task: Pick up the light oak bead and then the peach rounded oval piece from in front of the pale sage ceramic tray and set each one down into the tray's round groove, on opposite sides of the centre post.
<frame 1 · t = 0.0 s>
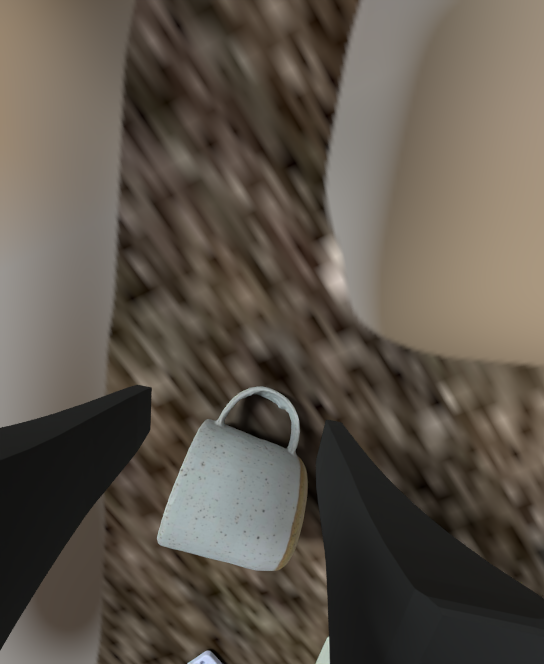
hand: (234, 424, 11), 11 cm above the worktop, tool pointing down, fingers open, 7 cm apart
ceramic mug: (248, 443, 23), on the worktop
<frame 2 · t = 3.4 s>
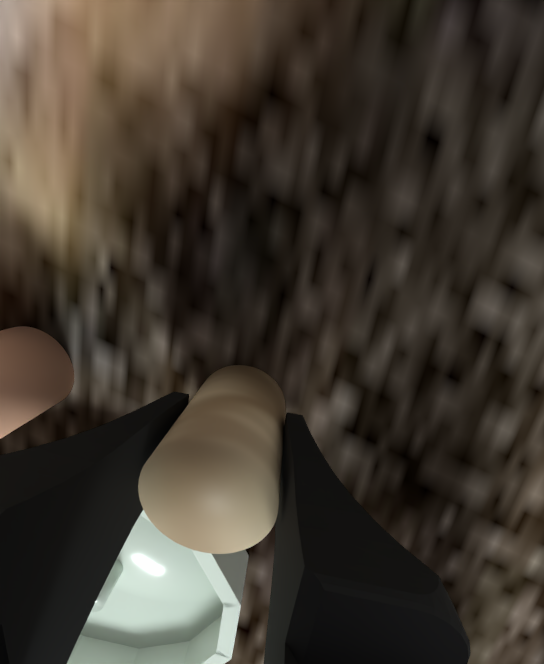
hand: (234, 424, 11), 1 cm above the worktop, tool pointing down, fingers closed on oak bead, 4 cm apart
groove tray: (116, 554, 16), on the worktop
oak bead: (241, 405, 12), on the worktop, touching gripper
peach rounded oval piece: (33, 367, 13), on the worktop
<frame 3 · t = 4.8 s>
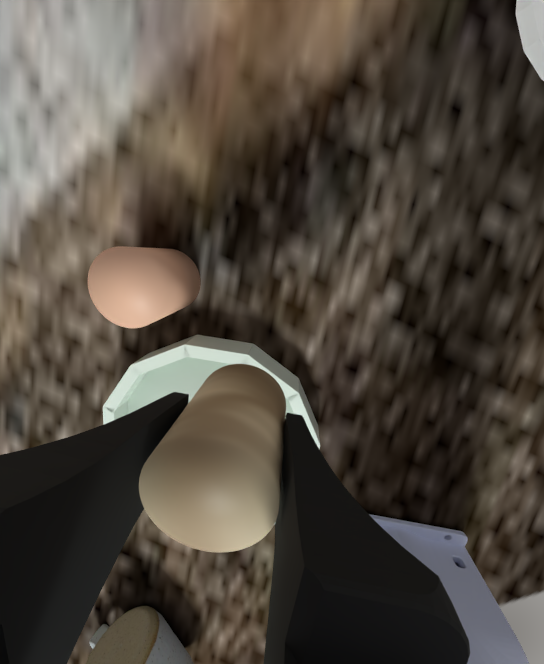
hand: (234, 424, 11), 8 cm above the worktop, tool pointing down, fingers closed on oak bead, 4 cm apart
groove tray: (216, 430, 21), on the worktop
ceramic mug: (149, 627, 29), on the worktop
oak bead: (242, 404, 12), point 7 cm above the worktop, touching gripper
peach rounded oval piece: (171, 279, 18), on the worktop
when the fingers open (3 cm above the worktop, at t = 6.4 s): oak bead drops 1 cm, resting on groove tray.
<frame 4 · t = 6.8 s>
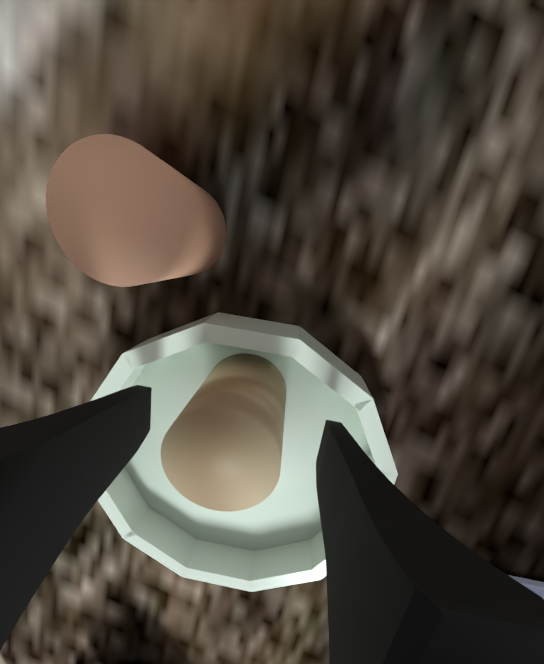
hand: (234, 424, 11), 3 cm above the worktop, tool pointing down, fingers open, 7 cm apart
groove tray: (240, 447, 15), on the worktop
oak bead: (246, 390, 14), point 1 cm above the worktop, touching groove tray
peach rounded oval piece: (183, 230, 13), on the worktop
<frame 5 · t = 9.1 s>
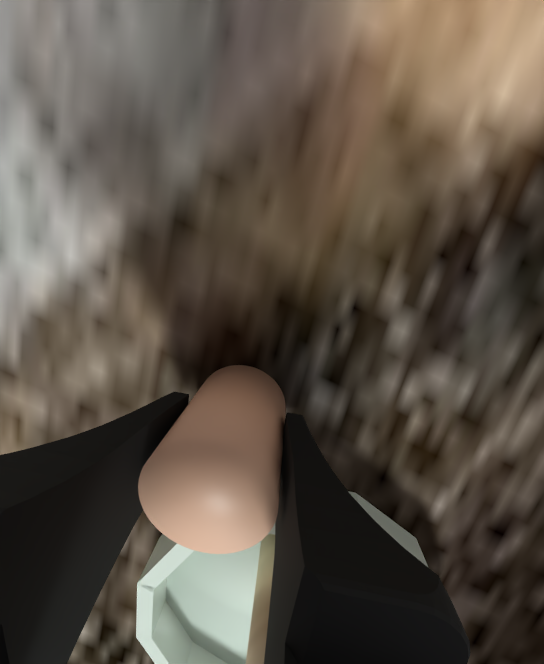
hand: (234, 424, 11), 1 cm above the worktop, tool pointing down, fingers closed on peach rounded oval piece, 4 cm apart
groove tray: (288, 590, 15), on the worktop
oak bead: (300, 551, 14), point 1 cm above the worktop, touching groove tray
peach rounded oval piece: (241, 405, 12), on the worktop, touching gripper
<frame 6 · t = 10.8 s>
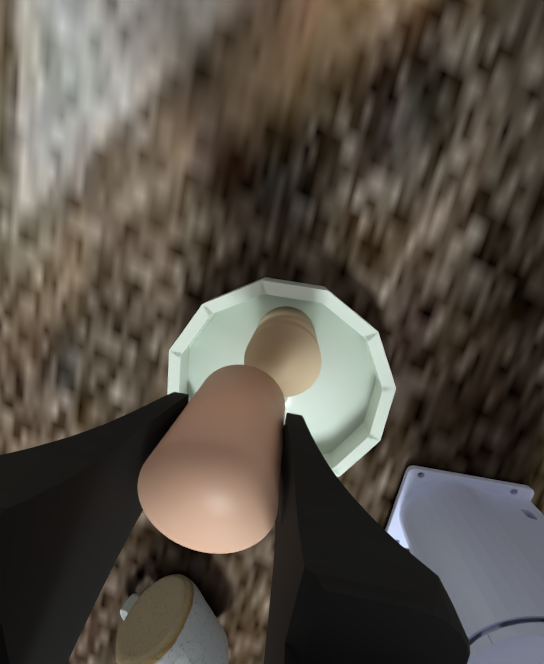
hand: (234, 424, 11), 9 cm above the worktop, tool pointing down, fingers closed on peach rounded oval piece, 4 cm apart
groove tray: (278, 381, 21), on the worktop
ceramic mug: (179, 597, 29), on the worktop
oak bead: (285, 334, 19), point 1 cm above the worktop, touching groove tray
peach rounded oval piece: (241, 405, 12), point 8 cm above the worktop, touching gripper
when the fingers open (3 cm above the worktop, at t = 12.8 s): peach rounded oval piece drops 1 cm, resting on groove tray.
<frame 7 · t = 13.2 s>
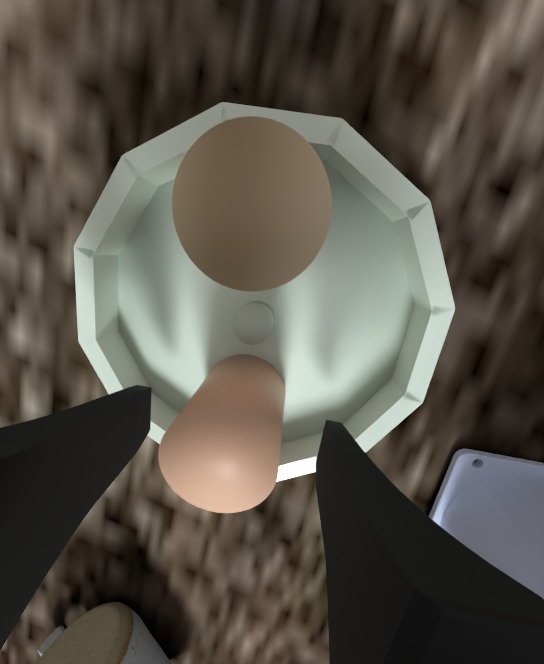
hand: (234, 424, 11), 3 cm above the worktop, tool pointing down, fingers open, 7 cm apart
groove tray: (259, 315, 13), on the worktop
ceramic mug: (123, 631, 21), on the worktop
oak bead: (269, 229, 12), point 1 cm above the worktop, touching groove tray
peach rounded oval piece: (245, 391, 14), point 1 cm above the worktop, touching groove tray
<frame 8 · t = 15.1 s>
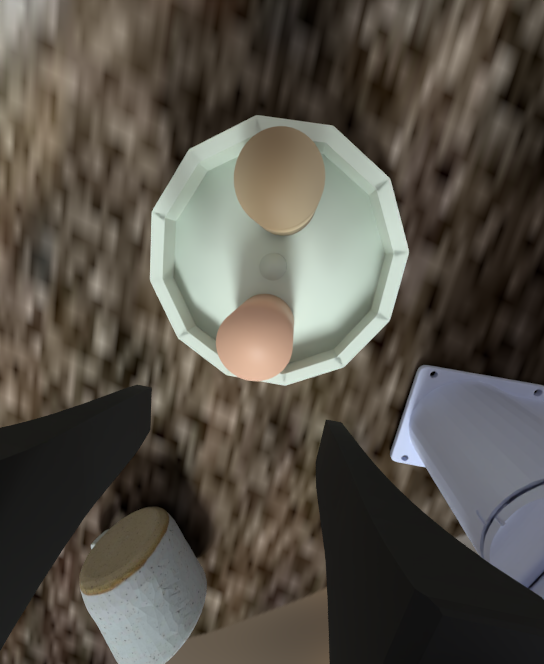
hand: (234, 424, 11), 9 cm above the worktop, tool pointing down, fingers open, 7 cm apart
groove tray: (275, 265, 18), on the worktop
ceramic mug: (156, 536, 27), on the worktop
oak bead: (284, 201, 17), point 1 cm above the worktop, touching groove tray
peach rounded oval piece: (265, 322, 19), point 1 cm above the worktop, touching groove tray
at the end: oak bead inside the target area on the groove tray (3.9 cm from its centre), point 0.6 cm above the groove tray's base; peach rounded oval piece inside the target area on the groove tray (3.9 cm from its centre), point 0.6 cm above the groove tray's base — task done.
